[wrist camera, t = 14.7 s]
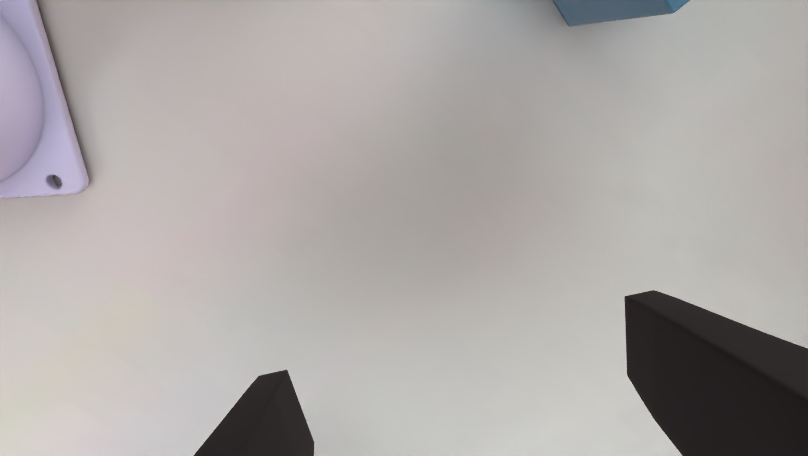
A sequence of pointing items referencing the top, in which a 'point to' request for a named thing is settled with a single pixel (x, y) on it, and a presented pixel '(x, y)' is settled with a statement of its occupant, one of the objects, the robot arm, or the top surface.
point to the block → (614, 9)
